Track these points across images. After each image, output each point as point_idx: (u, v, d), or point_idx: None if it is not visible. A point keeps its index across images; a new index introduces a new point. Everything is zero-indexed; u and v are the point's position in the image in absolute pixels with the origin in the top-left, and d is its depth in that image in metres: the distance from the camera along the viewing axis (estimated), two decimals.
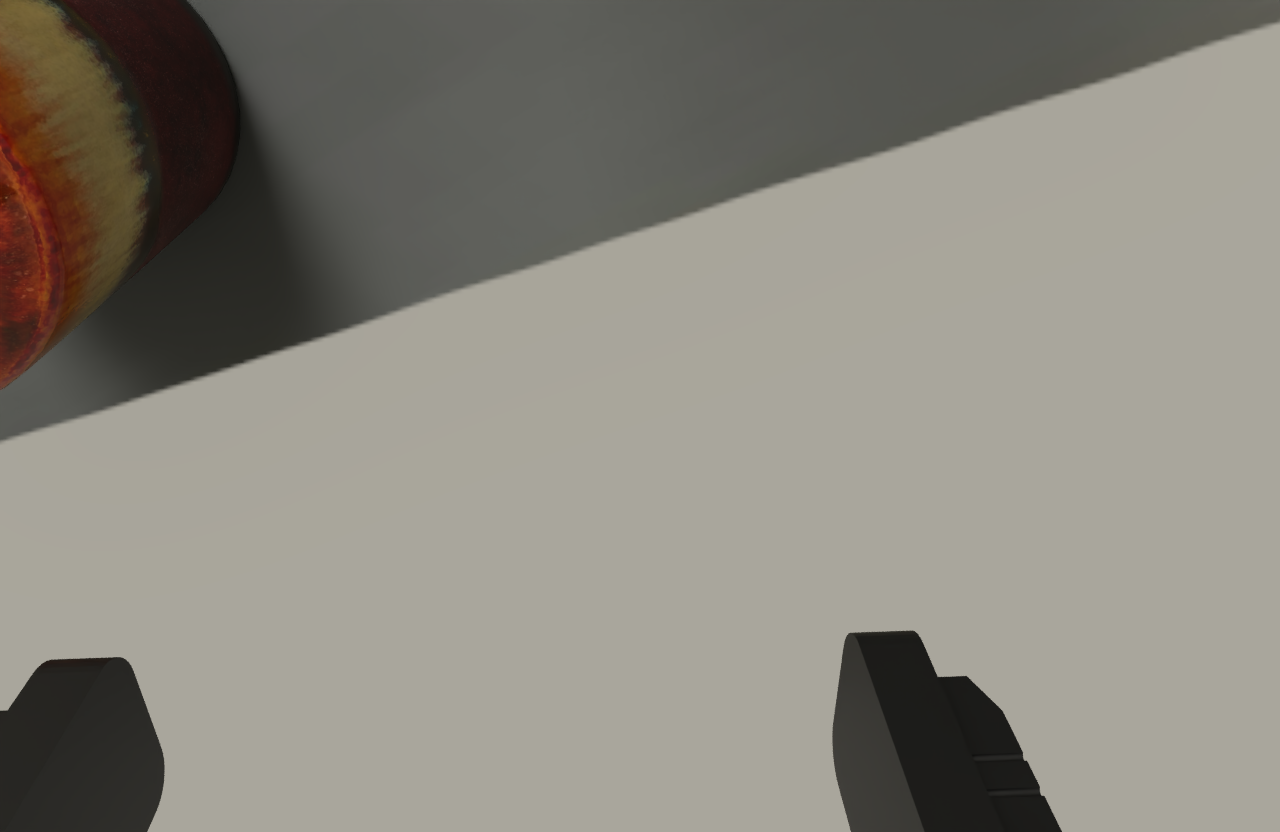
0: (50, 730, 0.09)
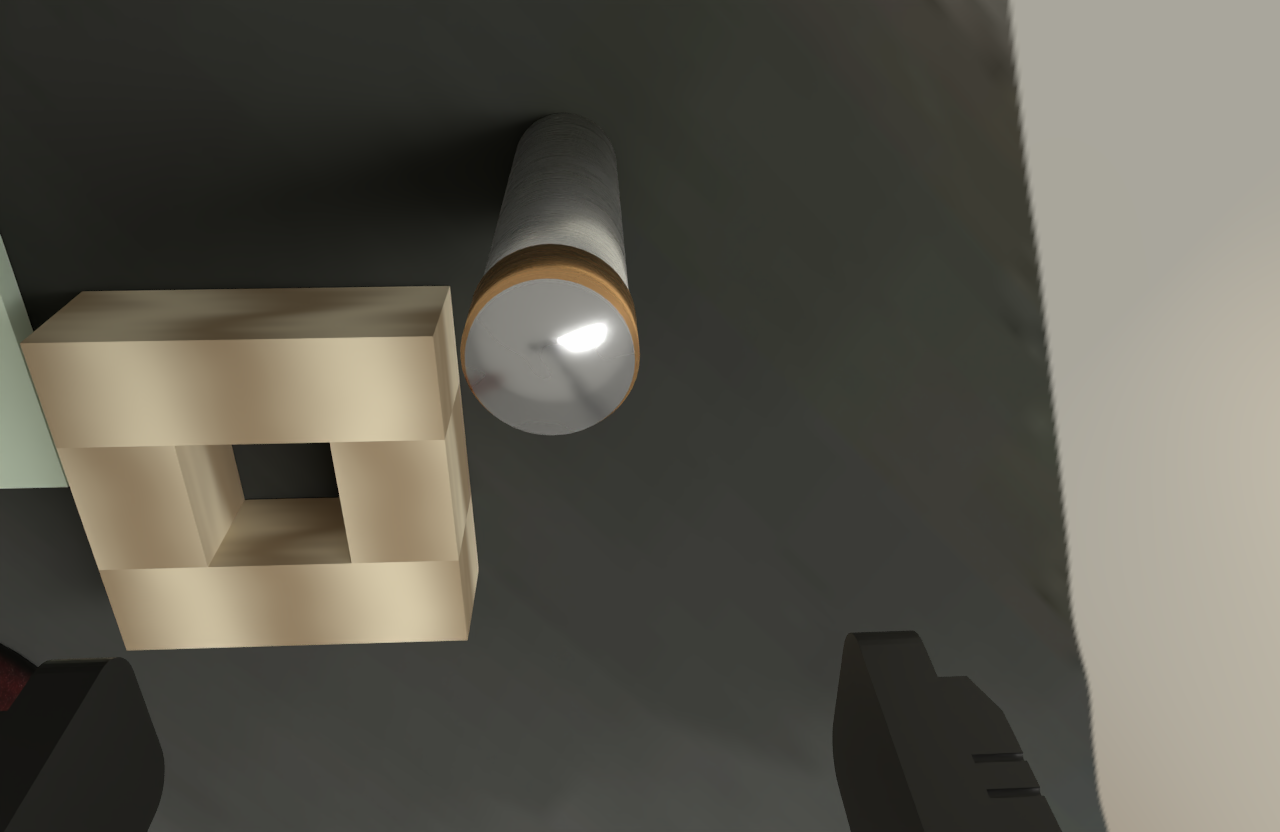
0: (50, 730, 0.09)
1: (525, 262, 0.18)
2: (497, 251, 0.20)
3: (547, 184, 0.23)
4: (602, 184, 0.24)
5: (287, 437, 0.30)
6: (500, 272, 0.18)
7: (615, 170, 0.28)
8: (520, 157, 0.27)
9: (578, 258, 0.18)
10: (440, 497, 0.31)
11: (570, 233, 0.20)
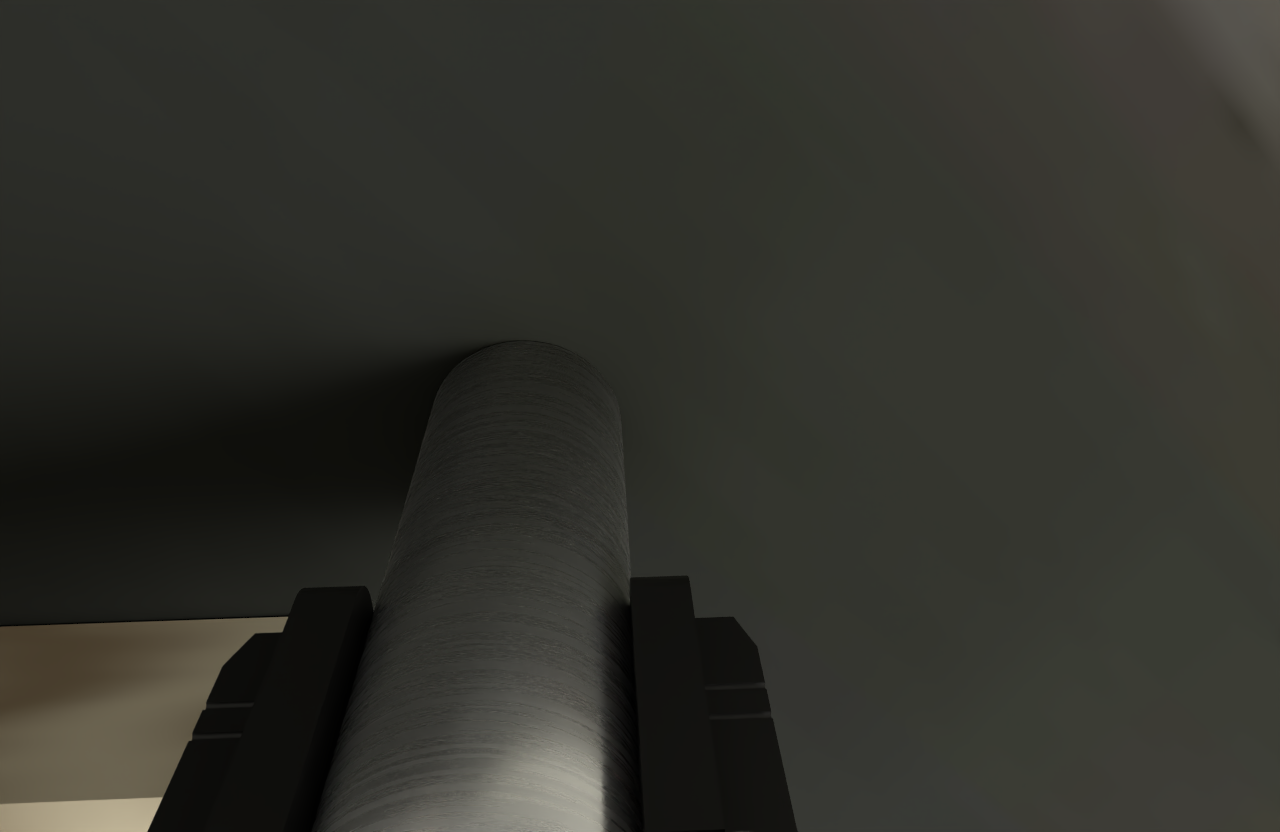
0: (327, 645, 0.10)
1: None
2: None
3: (446, 700, 0.09)
4: (591, 622, 0.10)
5: None
6: None
7: (620, 482, 0.14)
8: (421, 483, 0.13)
9: None
10: None
11: None
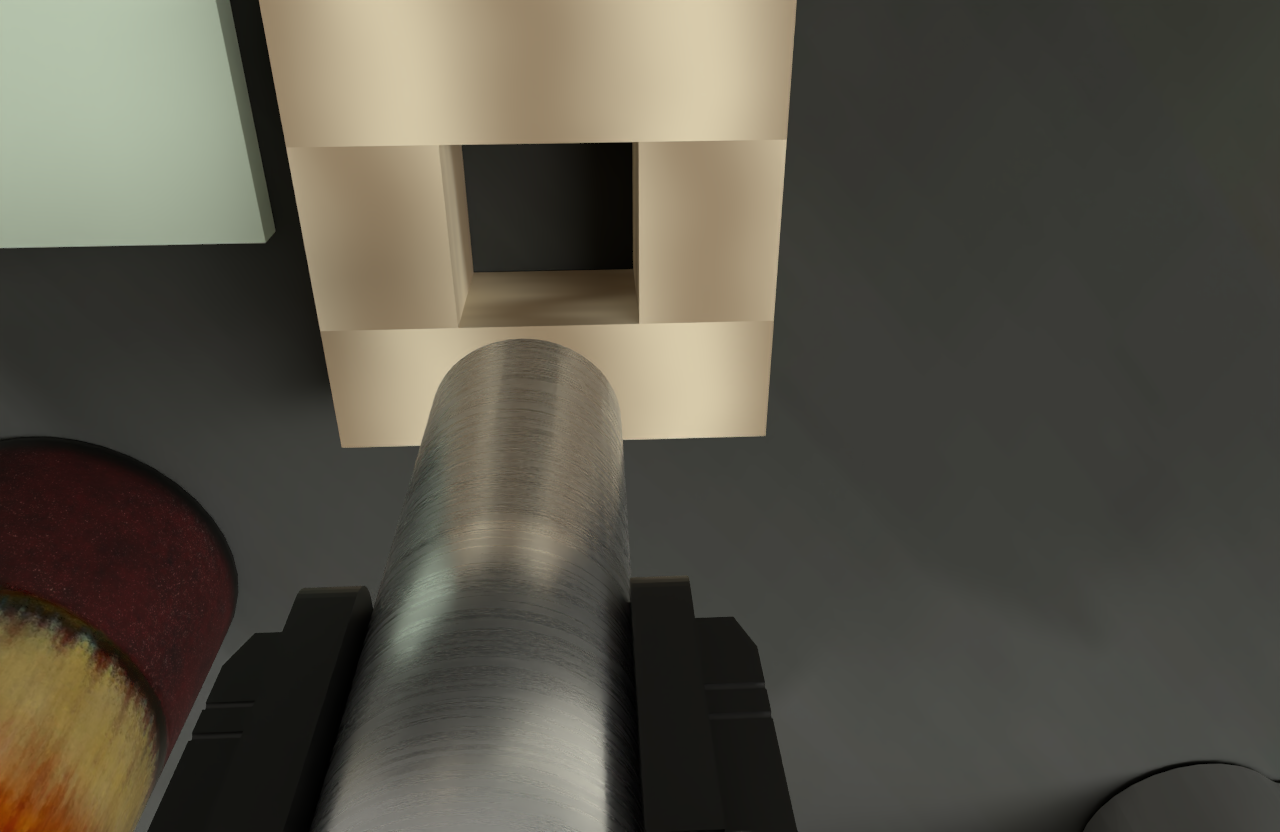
0: (327, 645, 0.10)
1: None
2: None
3: (446, 695, 0.09)
4: (592, 619, 0.10)
5: (585, 134, 0.23)
6: None
7: (620, 480, 0.14)
8: (421, 480, 0.13)
9: None
10: (766, 227, 0.24)
11: None
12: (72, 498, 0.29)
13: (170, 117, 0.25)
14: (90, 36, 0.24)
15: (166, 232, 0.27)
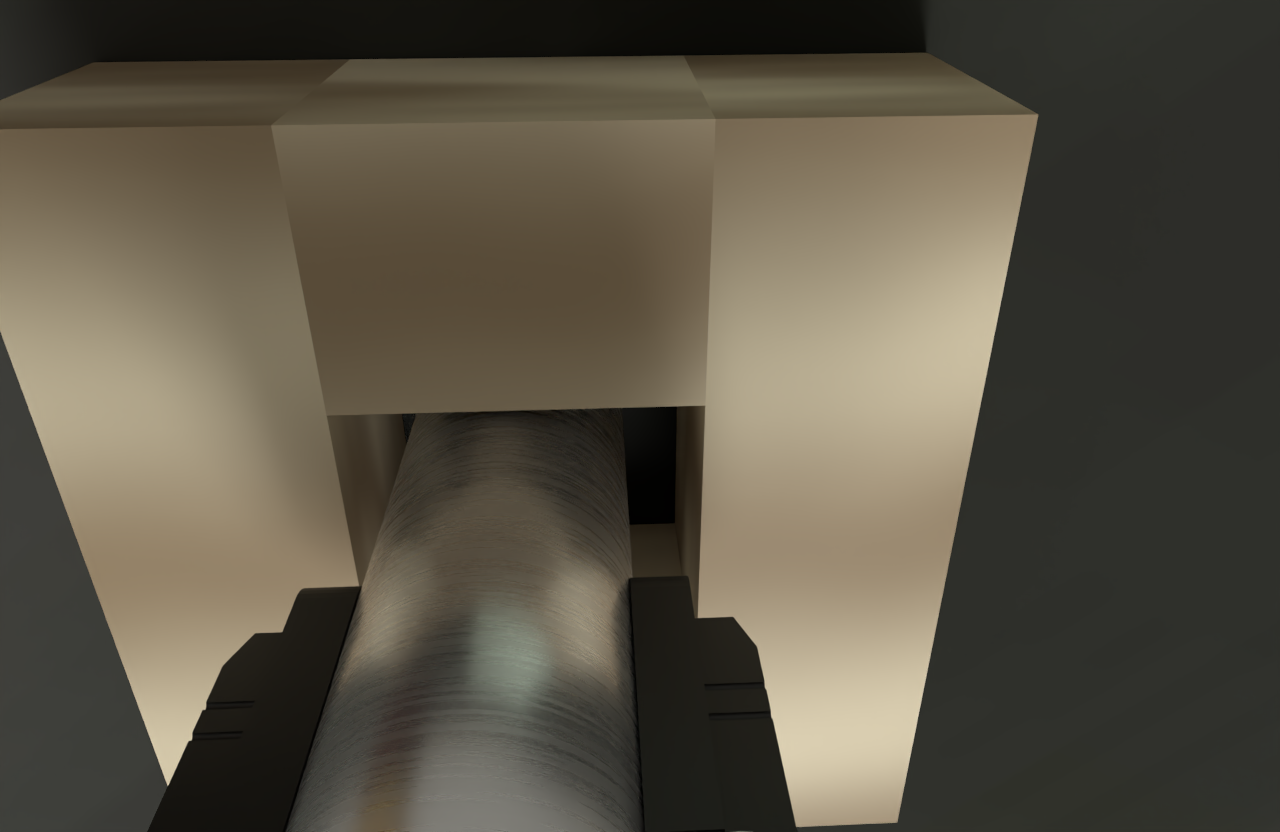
0: (327, 645, 0.10)
1: None
2: None
3: (507, 643, 0.09)
4: (623, 606, 0.10)
5: (711, 614, 0.14)
6: None
7: None
8: (452, 418, 0.12)
9: None
10: None
11: None
12: None
13: None
14: None
15: None
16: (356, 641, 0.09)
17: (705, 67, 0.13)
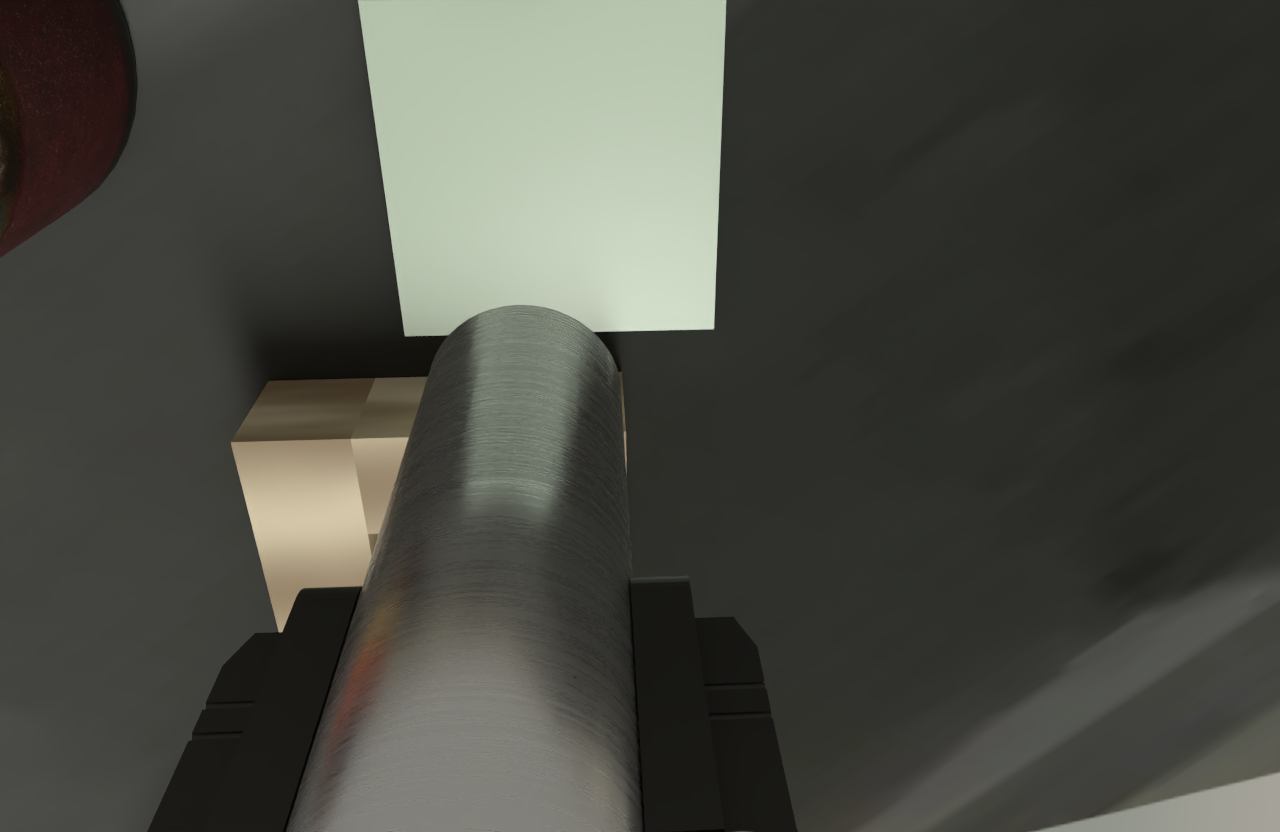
0: (327, 645, 0.10)
1: None
2: None
3: (508, 644, 0.09)
4: (623, 607, 0.10)
5: None
6: None
7: None
8: (452, 418, 0.12)
9: None
10: None
11: None
12: (91, 150, 0.26)
13: (509, 282, 0.30)
14: (571, 235, 0.30)
15: (406, 258, 0.30)
16: (356, 642, 0.09)
17: None
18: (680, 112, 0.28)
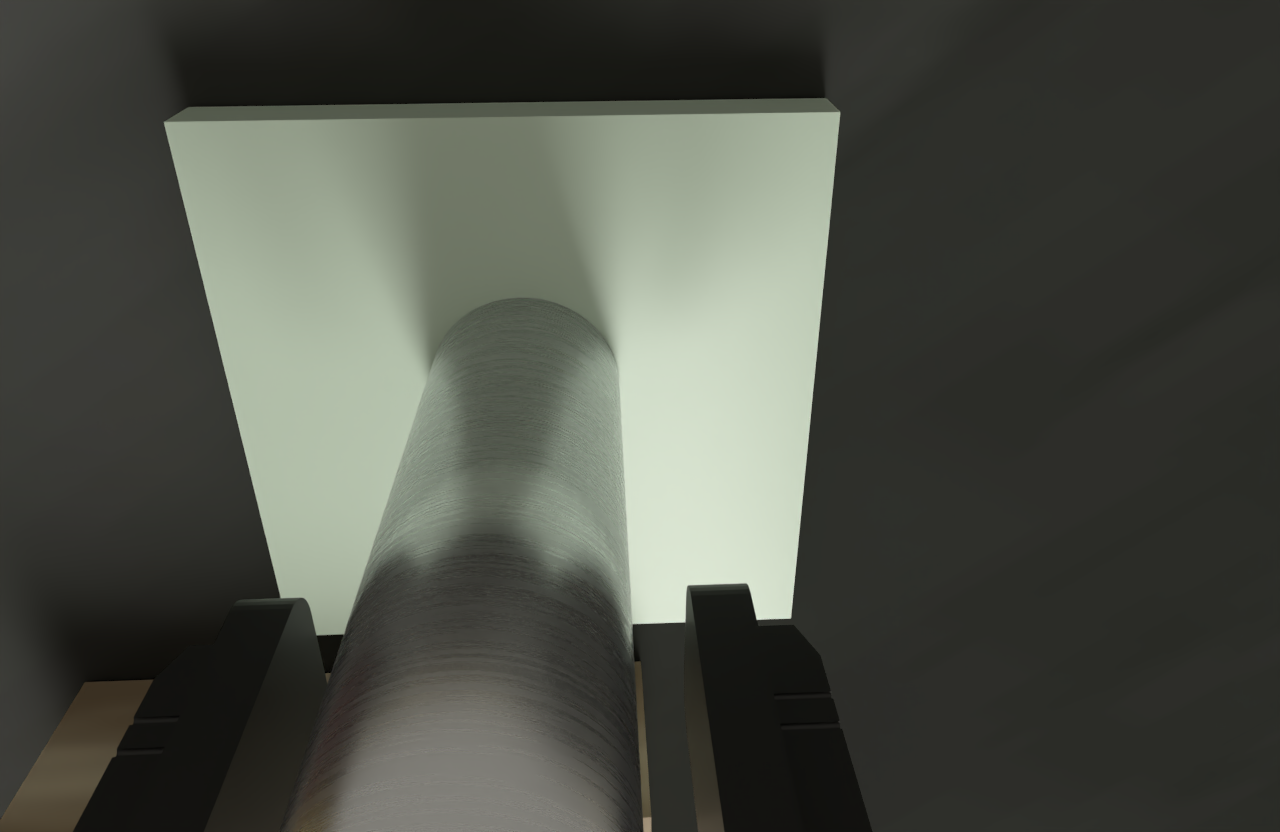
0: (258, 658, 0.10)
1: None
2: None
3: (505, 612, 0.09)
4: (618, 582, 0.11)
5: None
6: None
7: None
8: (454, 404, 0.13)
9: None
10: None
11: None
12: None
13: None
14: None
15: (283, 527, 0.18)
16: (361, 612, 0.10)
17: None
18: (749, 303, 0.16)
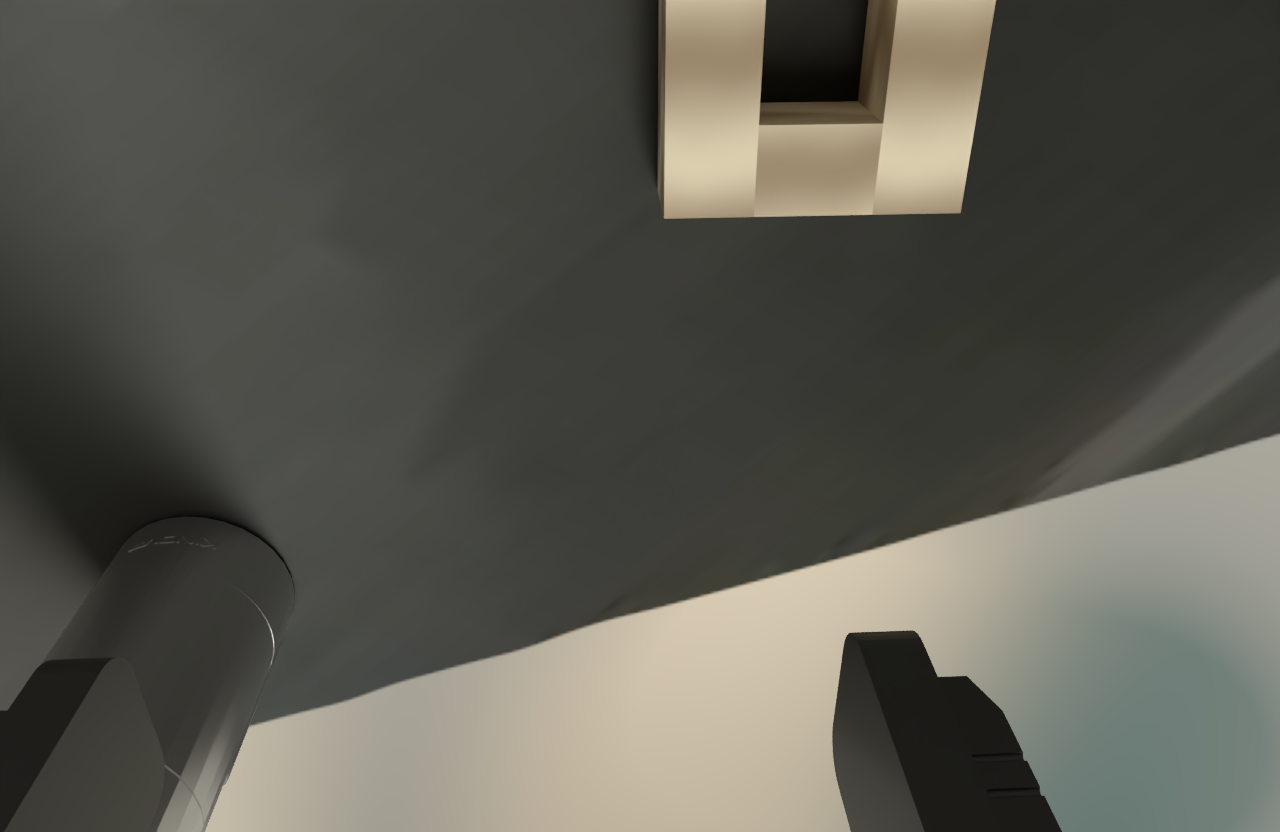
0: (50, 730, 0.09)
1: None
2: None
3: None
4: None
5: (892, 88, 0.36)
6: None
7: None
8: None
9: None
10: (818, 207, 0.38)
11: None
12: None
13: None
14: None
15: None
16: None
17: None
18: None
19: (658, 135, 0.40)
